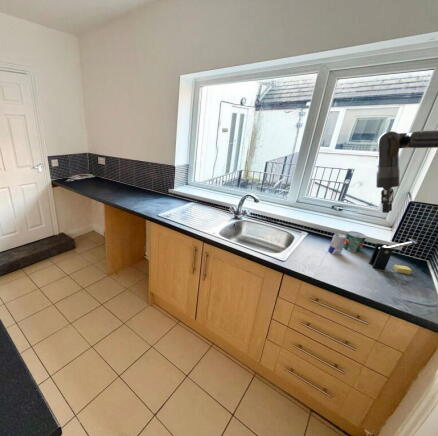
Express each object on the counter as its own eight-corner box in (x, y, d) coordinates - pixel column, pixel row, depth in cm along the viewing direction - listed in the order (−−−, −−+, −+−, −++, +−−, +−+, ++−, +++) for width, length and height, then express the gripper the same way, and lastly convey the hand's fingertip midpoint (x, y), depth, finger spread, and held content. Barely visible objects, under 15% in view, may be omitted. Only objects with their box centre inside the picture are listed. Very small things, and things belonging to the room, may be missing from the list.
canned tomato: (338, 247, 139) (344, 230, 135) (354, 249, 138) (360, 231, 134) (345, 254, 132) (352, 236, 128) (362, 256, 131) (369, 238, 126)
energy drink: (328, 251, 135) (335, 232, 130) (340, 255, 131) (347, 235, 127) (326, 255, 131) (333, 235, 127) (338, 258, 128) (345, 238, 123)
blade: (413, 241, 112) (412, 237, 111) (421, 246, 107) (419, 241, 107) (377, 249, 118) (376, 245, 117) (383, 254, 113) (381, 250, 113)
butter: (405, 271, 116) (407, 266, 115) (409, 275, 113) (412, 270, 112) (392, 269, 118) (394, 264, 117) (396, 272, 114) (398, 268, 113)
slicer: (384, 267, 120) (393, 244, 116) (392, 275, 113) (403, 251, 109) (359, 263, 124) (367, 240, 119) (366, 271, 117) (375, 247, 112)
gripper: (397, 176, 104) (396, 213, 106) (401, 175, 113) (400, 210, 115) (374, 177, 110) (373, 213, 111) (379, 177, 119) (378, 210, 120)
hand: (387, 211), depth 113 cm, fingers open, 8 cm apart
